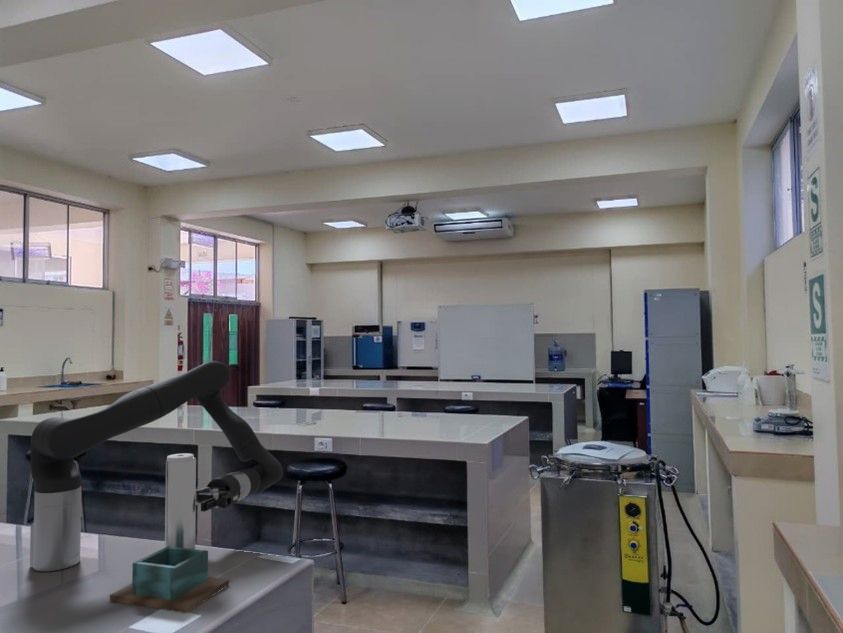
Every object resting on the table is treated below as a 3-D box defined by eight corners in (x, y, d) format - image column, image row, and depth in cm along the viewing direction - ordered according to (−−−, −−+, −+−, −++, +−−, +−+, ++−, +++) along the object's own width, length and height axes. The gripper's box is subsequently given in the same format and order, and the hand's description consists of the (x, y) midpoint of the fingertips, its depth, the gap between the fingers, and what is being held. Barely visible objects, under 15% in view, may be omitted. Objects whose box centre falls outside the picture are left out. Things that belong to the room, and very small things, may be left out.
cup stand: (109, 601, 117) (110, 563, 117) (157, 575, 129) (157, 542, 129) (186, 612, 111) (187, 573, 112) (228, 585, 124) (228, 550, 124)
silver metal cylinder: (184, 572, 131) (185, 458, 132) (158, 570, 132) (159, 457, 133) (201, 562, 137) (202, 452, 138) (175, 560, 138) (177, 451, 139)
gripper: (205, 472, 155) (161, 487, 139) (253, 475, 150) (213, 491, 135) (205, 501, 154) (160, 519, 139) (253, 506, 150) (212, 524, 135)
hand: (186, 505), depth 137 cm, fingers open, 8 cm apart
